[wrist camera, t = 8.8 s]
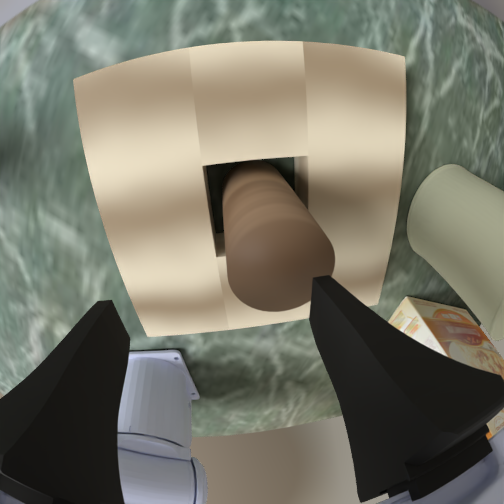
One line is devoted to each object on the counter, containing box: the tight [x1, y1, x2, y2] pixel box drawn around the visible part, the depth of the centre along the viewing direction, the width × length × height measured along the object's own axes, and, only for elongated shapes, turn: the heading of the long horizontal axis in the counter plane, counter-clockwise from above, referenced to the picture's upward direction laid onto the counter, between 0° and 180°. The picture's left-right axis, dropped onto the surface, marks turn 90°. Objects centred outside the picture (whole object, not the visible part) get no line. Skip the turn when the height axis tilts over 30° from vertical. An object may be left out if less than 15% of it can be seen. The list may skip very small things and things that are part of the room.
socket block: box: [73, 41, 406, 337], centre depth 16 cm, size 18×18×3 cm
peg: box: [222, 160, 335, 312], centre depth 14 cm, size 4×4×9 cm
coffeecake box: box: [388, 296, 504, 440], centre depth 20 cm, size 15×7×20 cm, turn 69°
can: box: [407, 164, 504, 341], centre depth 15 cm, size 9×9×12 cm
